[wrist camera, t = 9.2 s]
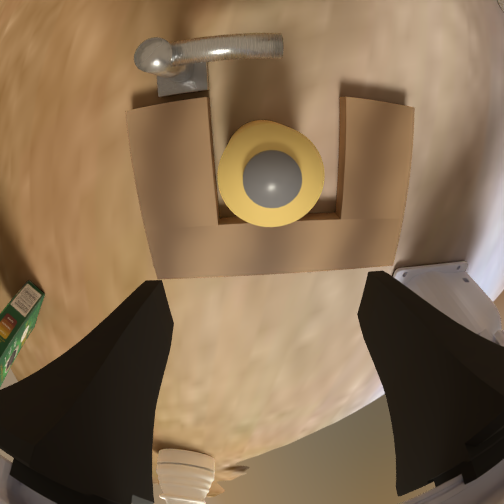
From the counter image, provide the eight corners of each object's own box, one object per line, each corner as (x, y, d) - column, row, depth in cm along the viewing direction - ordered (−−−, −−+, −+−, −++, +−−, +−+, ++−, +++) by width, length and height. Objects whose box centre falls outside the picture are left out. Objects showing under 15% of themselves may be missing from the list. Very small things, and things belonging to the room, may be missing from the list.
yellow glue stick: (298, 119, 15) (328, 126, 10) (298, 187, 17) (323, 229, 12) (224, 121, 15) (212, 128, 9) (228, 190, 17) (221, 233, 12)
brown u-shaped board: (405, 106, 14) (414, 107, 13) (386, 257, 20) (392, 265, 19) (132, 110, 14) (125, 111, 13) (161, 270, 20) (157, 279, 19)
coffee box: (28, 275, 20) (-39, 367, 9) (47, 292, 21) (-14, 390, 10) (19, 312, 23) (-28, 390, 12) (35, 326, 24) (-9, 407, 13)
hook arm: (268, 42, 12) (281, 11, 7) (270, 86, 14) (285, 74, 9) (158, 54, 12) (118, 33, 7) (161, 97, 14) (120, 94, 9)
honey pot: (160, 458, 48) (153, 518, 33) (156, 444, 42) (147, 518, 26) (212, 466, 50) (210, 526, 34) (218, 454, 44) (216, 527, 28)
